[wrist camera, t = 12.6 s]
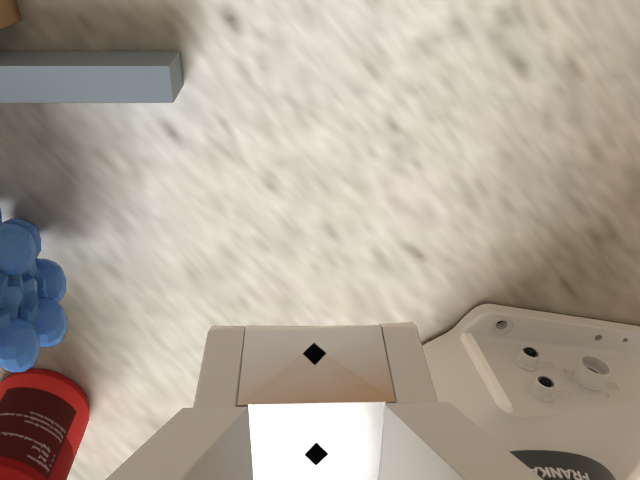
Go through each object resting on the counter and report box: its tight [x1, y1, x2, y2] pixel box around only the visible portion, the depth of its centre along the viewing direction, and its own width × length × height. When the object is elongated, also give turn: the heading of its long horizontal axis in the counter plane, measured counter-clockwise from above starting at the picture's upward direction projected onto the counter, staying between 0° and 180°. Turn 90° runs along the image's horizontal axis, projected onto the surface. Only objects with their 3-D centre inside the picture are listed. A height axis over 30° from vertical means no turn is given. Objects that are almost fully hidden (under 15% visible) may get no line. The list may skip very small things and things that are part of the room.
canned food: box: [0, 369, 89, 480], centre depth 44 cm, size 8×8×11 cm
